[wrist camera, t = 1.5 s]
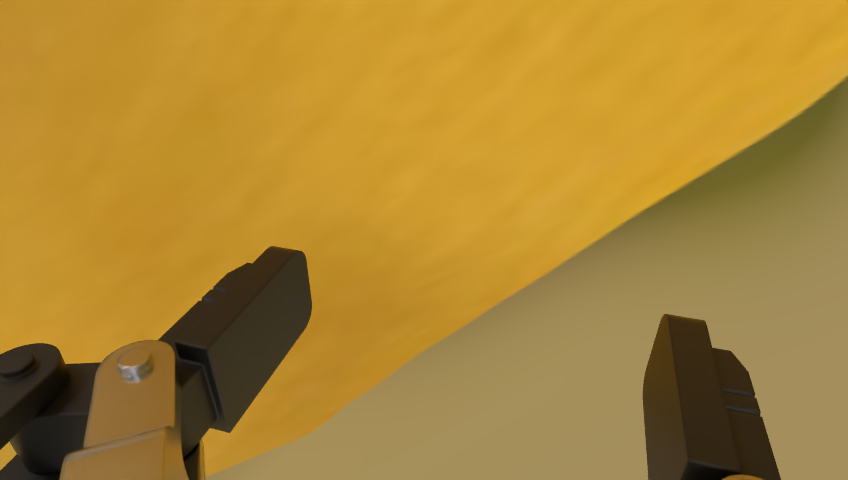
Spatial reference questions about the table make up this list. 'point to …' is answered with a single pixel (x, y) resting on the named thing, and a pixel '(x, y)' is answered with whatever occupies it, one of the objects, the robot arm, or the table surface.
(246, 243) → the table surface
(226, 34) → the table surface
